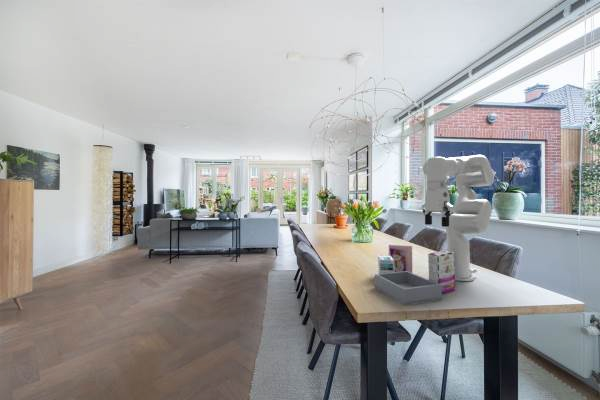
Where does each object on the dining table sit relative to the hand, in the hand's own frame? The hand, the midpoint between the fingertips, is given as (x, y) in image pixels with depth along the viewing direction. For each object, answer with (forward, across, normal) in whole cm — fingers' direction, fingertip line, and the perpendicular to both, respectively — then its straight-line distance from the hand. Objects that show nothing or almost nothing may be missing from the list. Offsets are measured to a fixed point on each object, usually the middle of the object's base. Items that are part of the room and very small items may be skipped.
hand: (436, 225), depth 111 cm
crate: (+28, 0, +15) cm, 32 cm away
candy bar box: (+28, -1, -1) cm, 28 cm away
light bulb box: (+28, +19, +12) cm, 36 cm away
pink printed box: (+28, +24, +1) cm, 37 cm away
